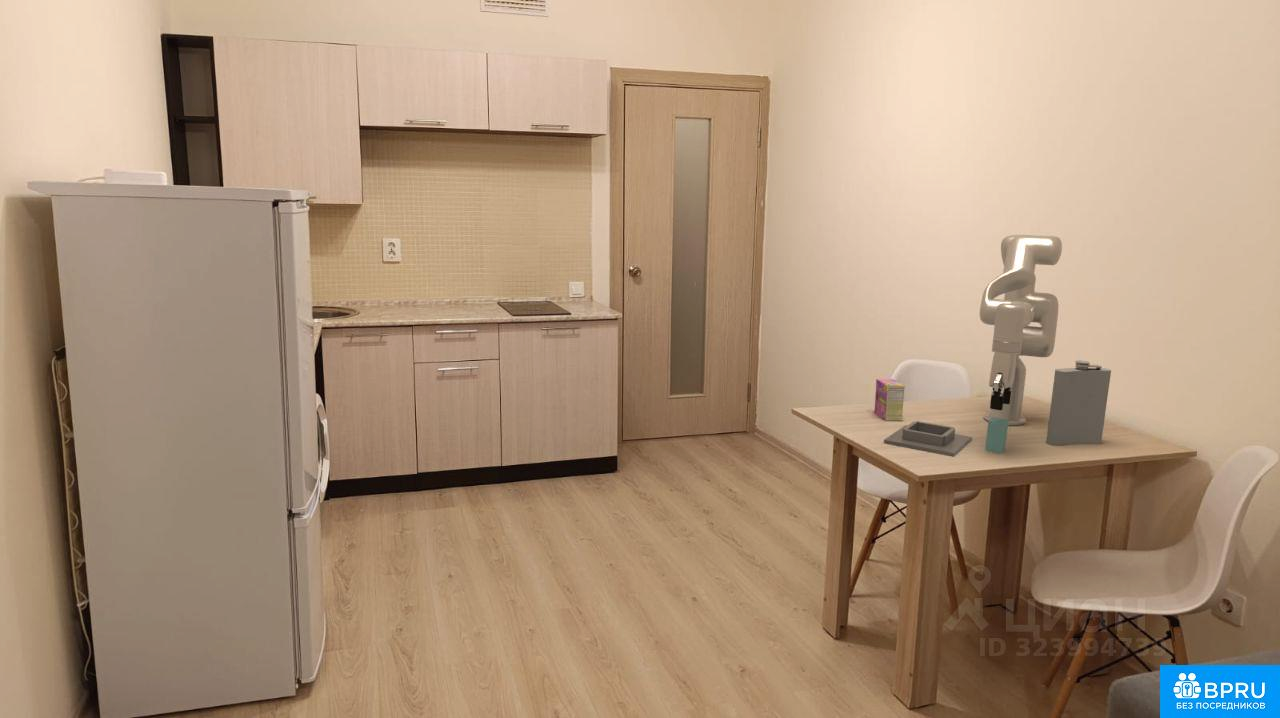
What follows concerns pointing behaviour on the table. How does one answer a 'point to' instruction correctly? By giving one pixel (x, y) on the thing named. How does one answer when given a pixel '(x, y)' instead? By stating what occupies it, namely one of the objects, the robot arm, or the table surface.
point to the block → (996, 435)
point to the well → (929, 438)
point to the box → (889, 399)
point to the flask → (1078, 405)
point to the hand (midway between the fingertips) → (999, 406)
